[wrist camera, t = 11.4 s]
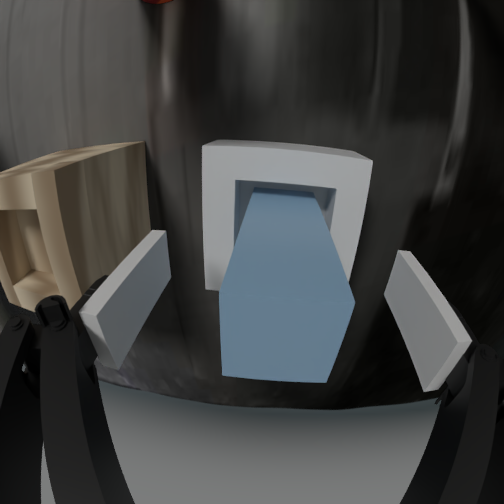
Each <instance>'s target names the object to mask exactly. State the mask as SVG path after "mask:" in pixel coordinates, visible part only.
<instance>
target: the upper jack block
mask: <svg viewBox="0 0 504 504" xmlns="http://www.w3.org/2000/svg"><path fill="white" fill-rule="evenodd" d="M150 232H151V225H150V216H149V205H148V192H147V177H146V158H145V141H141V142H128V143H117V144H107V145H99V146H91V147H83V148H76V149H70V150H64V151H58V152H55V153H52V154H49V155H46V156H43V157H40V158H37V159H34V160H31V161H28V162H25V163H23V164H20V165H18V166H15V167H12V168H10V169H7V170H5V171H3V172H0V281H1V284H2V286H3V289H4V291H5V293H6V296H7V298H8V300H9V302H10V303H12V304H15V305H17V306H20V307H22V308H25V309H28V310H31V311H33V312H35V307H36V305H37V304H38V303H39V302H40V301H41V300H42V299H44V298H45V297H48V296H51V295H60V296H63V297H64V298H65V299H66V302H67V305H68V307H69V310H70V309H71V308H72V307H73V306H74V305H75V303H76V302H77V301H78V300H79V299H80V298H81V296H82V295H84V293H85V292H86V291H87V290H88V289H89V287H90V286H91V285H92V284H93V283H94V282H95V281H96V280H98V279H99V278H101V277H102V276H104V275H110V274H111V273H112V272H113V271H114V270H115V269H116V268H117V267H118V266H119V264H120V263H121V262H122V261H123V260H124V259H125V258H126V257H127V256H128V255H129V254H130V253H131V252H132V250H133V249H134V248H135V247H136V246H137V245H138V244H139V243H140V242H141V241H142V240H143V239H144V238H145V237H146V236H147V235H148V234H149V233H150Z"/></svg>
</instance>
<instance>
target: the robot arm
mask: <svg viewBox="0 0 504 504" xmlns="http://www.w3.org/2000/svg"><path fill="white" fill-rule="evenodd" d="M170 278H171V272H170V263H169V254H168V245H167V234H166V231H163V230H152V231H151V232H150V233H149V234H148V235H147V236H146V237H145V238H144V239H143V240H142V241H141V242H140V243H139V244H138V245H137V246H136V247H135V248H134V249H133V250H132V252H131V253H130V254H129V255H128V256H127V257H126V258H125V259H124V260H123V261H122V262H121V263H120V264H119V266H118V267H117V268H116V269H115V270H114V271H113V272H112V273H111V274H110V275H104V276H102V277H101V278H99V279H98V280H96V281H95V282H94V283H93V284H92V285H91V286H90V287H89V289H88V290H87V291H86V292H85V293H84V295H82V296H81V298H80V299H79V300H78V301H77V302H76V303H75V305H74V306H73V307H72V308H71V309H70V310H69V307H68V305H67V302H66V299H65V298H64V297H63V296H60V295H51V296H48V297H45V298H44V299H42V300H41V301H40V302H39V303H38V304H37V305H36V307H35V312H36V314H37V317H38V319H39V321H40V323H41V325H32V323H31V321H30V318H29V317H28V316H27V315H26V314H18V315H15V316H13V317H12V318H11V319H9V320H8V322H7V323H6V324H5V326H4V328H3V330H2V333H1V335H0V504H41V461H42V460H41V459H42V446H43V442H44V449H45V456H46V462H47V467H48V473H49V478H50V483H51V487H52V491H53V495H54V499H55V502H56V504H135V503H134V501H133V498H132V496H131V493H130V491H129V489H128V486H127V483H126V481H125V478H124V475H123V473H122V470H121V467H120V464H119V461H118V459H117V455H116V452H115V449H114V445H113V442H112V439H111V435H110V431H109V428H108V424H107V420H106V416H105V411H104V407H103V403H102V398H101V393H100V388H99V383H98V377H97V371H96V367H95V365H94V363H93V362H94V361H95V359H96V358H97V356H98V358H99V360H100V362H101V364H102V366H105V367H109V368H112V369H115V370H119V368H120V367H121V365H122V363H123V361H124V359H125V357H126V355H127V353H128V352H129V350H130V348H131V346H132V344H133V342H134V341H135V339H136V337H137V335H138V333H139V332H140V330H141V328H142V326H143V324H144V323H145V321H146V319H147V317H148V316H149V314H150V312H151V311H152V309H153V307H154V305H155V304H156V302H157V300H158V299H159V297H160V295H161V293H162V292H163V290H164V288H165V287H166V285H167V283H168V282H169V280H170ZM384 296H385V298H386V300H387V302H388V304H389V307H390V309H391V311H392V313H393V315H394V318H395V320H396V322H397V324H398V327H399V329H400V331H401V334H402V336H403V338H404V341H405V343H406V346H407V348H408V351H409V353H410V356H411V358H412V361H413V363H414V366H415V369H416V371H417V374H418V377H419V380H420V382H421V385H422V388H423V391H424V392H425V391H432V390H438V389H439V388H440V386H441V385H442V384H443V382H444V381H445V380H446V382H447V384H448V387H447V388H446V389H445V391H444V392H443V393H442V394H441V395H440V397H439V398H438V399H437V400H436V402H435V404H438V402H439V401H440V400H442V401H441V404H440V408H439V411H438V414H437V418H436V421H435V424H434V427H433V430H432V433H431V436H430V439H429V441H428V444H427V446H426V449H425V452H424V454H423V456H422V459H421V461H420V464H419V466H418V468H417V470H416V473H415V475H414V477H413V479H412V481H411V483H410V485H409V487H408V489H407V491H406V493H405V495H404V497H403V499H402V500H401V502H400V504H504V359H502V358H499V357H498V355H497V353H496V351H495V350H494V349H493V348H491V347H490V346H488V345H485V344H479V342H478V341H477V339H476V337H475V336H474V334H473V332H472V331H471V329H470V328H469V326H468V325H467V324H466V321H465V320H464V318H462V315H461V314H460V312H459V311H458V309H457V308H456V307H455V306H453V305H452V304H451V303H450V302H447V300H446V299H445V297H444V296H443V295H442V293H441V292H440V290H439V289H438V288H437V286H436V285H435V283H434V282H433V281H432V279H431V278H430V277H429V275H428V274H427V273H426V271H425V270H424V269H423V267H422V266H421V265H420V263H419V262H418V261H417V259H416V258H415V257H414V256H413V254H412V253H411V252H410V251H400V250H398V252H397V256H396V259H395V262H394V266H393V269H392V272H391V275H390V278H389V281H388V284H387V287H386V290H385V293H384ZM23 363H24V365H25V366H26V368H25V371H24V372H23V371H22V366H23Z"/></svg>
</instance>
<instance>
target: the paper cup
mask: <svg viewBox="0 0 504 504" xmlns="http://www.w3.org/2000/svg"><path fill="white" fill-rule="evenodd" d="M142 1H144V2H147V3H151V4H161V3H166V2H170V1H173V0H142Z"/></svg>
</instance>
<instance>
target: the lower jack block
mask: <svg viewBox="0 0 504 504" xmlns="http://www.w3.org/2000/svg"><path fill="white" fill-rule="evenodd" d="M372 164H373V161H372V160H370V159H368V158H366V157H364V156H362V155H360V154H358V153H356V152H354V151H349V150H342V149H335V148H328V147H320V146H312V145H303V144H292V143H281V142H267V141H250V140H220V139H218V140H216V141H213V142H210V143H208V144H205V145H203V146H202V209H203V244H204V268H205V287H206V289H208V290H217V291H220V288H221V285H222V282H223V279H224V276H225V273H226V270H227V267H228V264H229V261H230V258H231V255H232V252H233V249H234V246H235V243H236V240H237V237H238V234H239V231H240V228H241V225H242V222H243V219H244V216H245V213H246V210H247V207H248V205H249V202H250V199H251V196H252V193H253V190H254V187H258V188H271V189H284V190H295V191H305V192H313V193H314V196H315V198H316V200H317V203H318V205H319V207H320V210H321V212H322V215H323V217H324V219H325V222H326V224H327V227H328V229H329V232H330V234H331V237H332V240H333V242H334V245H335V247H336V250H337V253H338V255H339V258H340V261H341V263H342V266H343V269H344V272H345V274H346V277H347V280H348V282H349V278H350V274H351V270H352V266H353V262H354V258H355V254H356V250H357V245H358V241H359V236H360V232H361V227H362V222H363V217H364V212H365V206H366V201H367V195H368V189H369V183H370V177H371V170H372Z"/></svg>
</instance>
